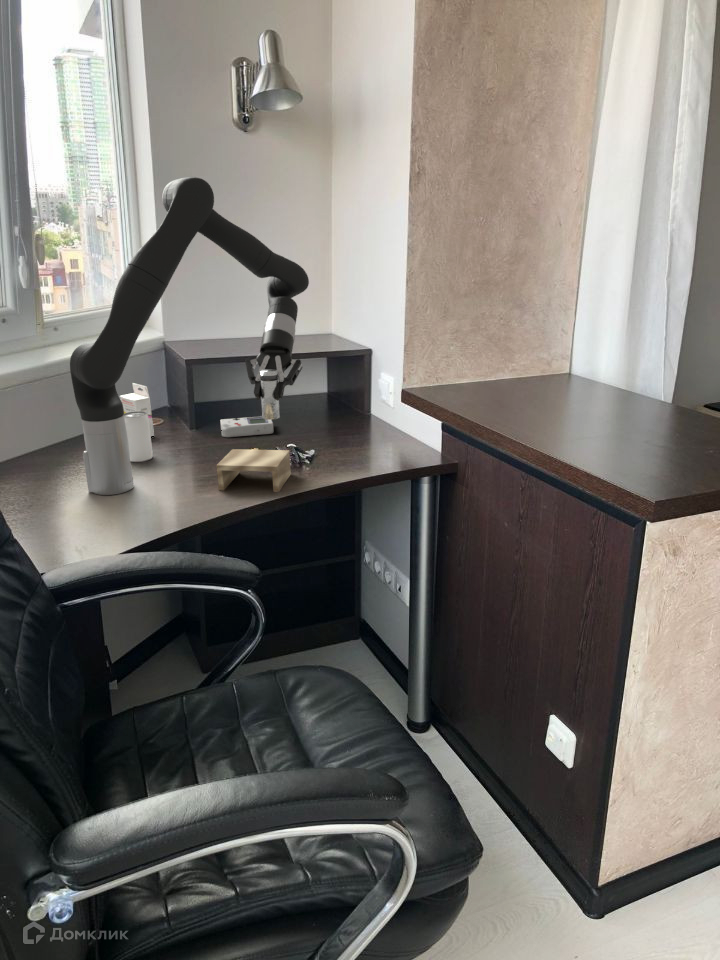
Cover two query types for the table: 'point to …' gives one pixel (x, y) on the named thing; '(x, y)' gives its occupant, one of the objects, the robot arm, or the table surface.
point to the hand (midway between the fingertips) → (267, 398)
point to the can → (138, 436)
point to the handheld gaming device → (246, 426)
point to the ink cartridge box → (138, 403)
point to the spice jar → (269, 393)
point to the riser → (254, 465)
